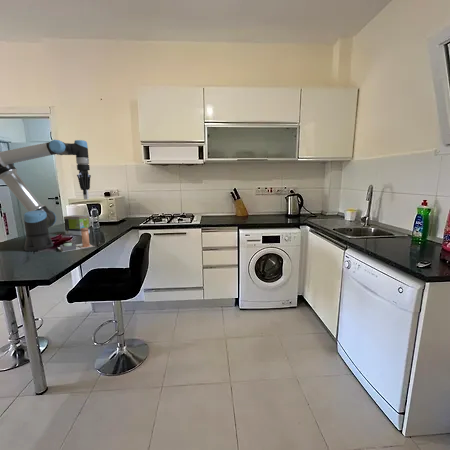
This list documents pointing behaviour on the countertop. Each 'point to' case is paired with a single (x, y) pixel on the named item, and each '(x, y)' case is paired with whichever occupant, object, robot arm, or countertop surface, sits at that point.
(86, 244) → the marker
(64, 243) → the button
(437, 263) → the countertop surface
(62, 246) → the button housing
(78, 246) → the board
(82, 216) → the tea box
